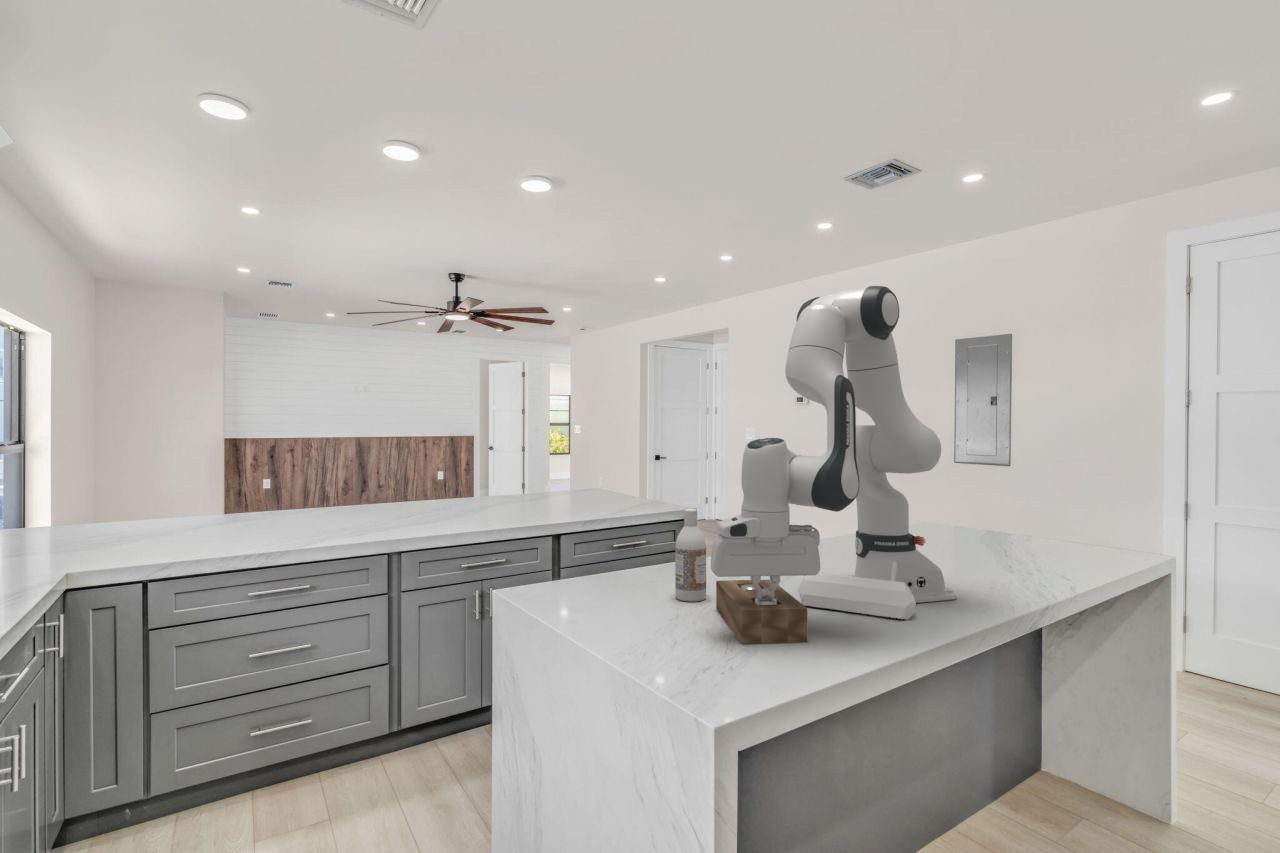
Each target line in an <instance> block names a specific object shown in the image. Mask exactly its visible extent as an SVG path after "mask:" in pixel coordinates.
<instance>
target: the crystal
mask: <svg viewBox="0 0 1280 853" xmlns="http://www.w3.org/2000/svg"><path fill="white" fill-rule="evenodd" d="M798 594H799V598H800V600H801V604H802V605H804V606H805V607H812V608H818V609H827V610H833V611H840V612H846V613H847V612H848V613H852V614H853V613H855V614H860V613H861V614H863V615H867V614H868V615H869V616H874V617H875V616H876V617H881V618H882V617H883V618H889V617H890V618H891V619H896V618H897V619H896V620H903V619H907V618H909V619H910V618H911V617H913V615H914V614H915V610H916V607H917V603H915V599H914V596H913V594H912V593H911V591H910V589H909V587H908V586H907V585H906V584H905V583H904V582H896V581H887V580H878V579H869V578H860V577H854V576H851V575H841V574H834V573H833V574H831V573H823V572H818V574H817V575H804V577H803V578H802V581H801V583H800V584H799V587H798ZM890 618H889V619H890ZM907 620H908V619H907Z"/></svg>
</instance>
